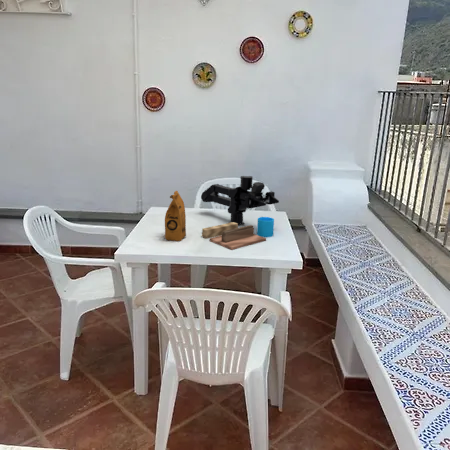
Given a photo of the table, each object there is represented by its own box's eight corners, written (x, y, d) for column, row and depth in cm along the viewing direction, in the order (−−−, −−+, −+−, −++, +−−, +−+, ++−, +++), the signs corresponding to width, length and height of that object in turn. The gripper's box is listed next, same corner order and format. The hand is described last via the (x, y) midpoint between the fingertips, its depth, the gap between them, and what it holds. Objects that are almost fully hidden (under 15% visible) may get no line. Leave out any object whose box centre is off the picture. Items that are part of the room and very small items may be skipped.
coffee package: (161, 240, 209) (160, 195, 203) (168, 233, 221) (168, 189, 214) (182, 242, 207) (181, 196, 201) (188, 234, 219) (188, 190, 213)
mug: (272, 237, 217) (273, 221, 215) (255, 236, 219) (256, 220, 216) (274, 230, 228) (275, 215, 226) (258, 229, 230) (259, 214, 228)
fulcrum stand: (209, 240, 210) (209, 228, 209) (243, 232, 224) (243, 221, 222) (231, 249, 199) (232, 237, 197) (265, 240, 213) (266, 228, 211)
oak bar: (206, 239, 213) (206, 230, 212) (202, 237, 216) (202, 228, 215) (237, 232, 226) (237, 223, 224) (233, 230, 228) (233, 222, 227)
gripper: (237, 183, 219) (259, 189, 208) (263, 179, 231) (286, 184, 220) (236, 205, 222) (258, 211, 211) (262, 200, 234) (284, 206, 223)
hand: (272, 203), depth 216 cm, fingers open, 9 cm apart
